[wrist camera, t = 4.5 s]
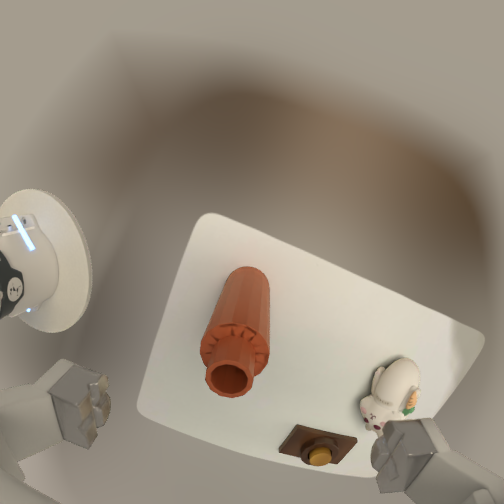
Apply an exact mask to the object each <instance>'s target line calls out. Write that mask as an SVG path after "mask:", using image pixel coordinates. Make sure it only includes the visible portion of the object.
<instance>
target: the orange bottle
mask: <svg viewBox="0 0 504 504" xmlns="http://www.w3.org/2000/svg"><path fill="white" fill-rule="evenodd" d="M269 354H270V296H269V283H268V280H267V278H266V276H265V275H264V274H263V273H262V272H261V271H260V270H258V269H256V268H253V267H241V268H238V269H236V270H235V271H233V272H232V273H231V274H230V276H229V277H228V279H227V281H226V283H225V285H224V288H223V290H222V293H221V295H220V297H219V300H218V302H217V305H216V307H215V309H214V312H213V314H212V316H211V319H210V321H209V324H208V326H207V328H206V331H205V333H204V336H203V338H202V340H201V347H200V355H201V357H202V360H203V363H204V365H205V366H206V367H207V370H206V377H205V381H206V382H207V384H208V386H209V388H210V389H211V390H212V391H213V392H215V393H217V394H218V395H220V396H224V397H229V398H234V397H239V396H243V395H244V394H246V393H247V392H248V391H249V390H250V389H251V388H252V383H253V378H254V376H256V375H258V374H260V373H261V371H262V370H263V369H264V368H265V366H266V365H267V363H268V358H269Z"/></svg>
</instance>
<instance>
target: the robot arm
mask: <svg viewBox="0 0 504 504" xmlns="http://www.w3.org/2000/svg"><path fill="white" fill-rule="evenodd" d="M58 278H59V269H58V262H57V257H56V254H55V251H54V249H53V247H52V245H51V243H50V241H49V240H48V238H47V237H46V236H45V234H44V233H43V232H42V231H41V229H40V228H39V225H38V222H37V220H36V218H35V216H34V215H33V214H24V215H17V216H16V215H13V216H10V217H4V218H0V320H1V319H3V318H5V317H6V316H7V315H8V316H10V317H14V316H16V315H18V314H21V313H23V312H25V311H28V312H29V311H30V310H31V311H32V312H35V311H38V310H39V308H40V307H41V305H42V303H43V302H44V301H45V300H47V299H49V298H50V297H51V296H52V295H53V294H54V292H55V290H56V288H57V284H58ZM108 387H109V383H108V377H107V376H106V375H104V374H101V373H98V372H96V371H93V370H91V369H88V368H85V367H83V366H80V365H78V364H75V363H72V362H70V361H67V360H65V359H61V360H59V361H58V362H57V363H56V364H55V365H54V366H52V367H51V368H50V369H49V370H48V371H47V372H46V373H45V374H44V375H43V376H42V377H41V378H40V379H39V380H38V381H37V382H36V383H34V385H30V384H24V385H20V386H16V387H11V388H7V389H2V390H0V504H62V503H60V502H57V501H56V500H54V499H52V498H50V497H48V496H46V495H45V494H43V493H41V492H39V491H38V490H36V489H34V488H32V487H31V486H29V485H27V484H26V483H24V482H23V481H24V479H25V476H24V473H23V471H22V470H21V468H20V466H19V464H18V461H20V460H23V459H25V458H27V457H29V456H32V455H34V454H36V453H38V452H41V451H43V450H45V449H47V448H49V447H51V446H54V445H56V444H58V443H60V442H62V441H63V439H64V440H66V441H69V442H71V443H74V444H76V445H78V446H81V447H83V448H86V449H89V448H90V446H91V445H92V443H93V442H94V440H95V438H96V437H97V429H96V428H99V427H101V426H104V424H105V423H106V421H107V419H108V416H109V413H110V408H111V401H110V397H109V396H108V394H107V393H106V390H107V388H108ZM382 432H383V435H382V436H381V437H379V438H378V439H376V441H375V443H374V444H373V446H372V450H371V463H372V467H373V468H374V469H375V470H377V471H378V472H379V473H378V474H377V476H376V480H377V483H378V487H379V490H380V493H392V492H402V491H405V492H404V493H405V494H406V495H407V496H408V497H409V498H411V500H413V501H414V502H415V503H416V504H504V479H503V478H501V477H500V476H498V475H496V474H494V473H493V472H491V471H489V470H488V469H486V468H484V467H482V466H481V465H479V464H477V463H476V462H474V461H472V460H471V459H469V458H467V457H466V456H464V455H462V454H461V453H459V452H458V451H456V450H452V451H451V449H450V447H449V445H448V444H447V442H446V440H445V438H444V437H443V435H442V433H441V432H440V430H439V428H438V427H437V425H436V423H435V422H434V420H433V419H431V418H422V419H409V420H389V421H387V422H386V423H385V425H384V426H383V428H382Z"/></svg>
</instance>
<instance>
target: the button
mask: <svg viewBox="0 0 504 504" xmlns="http://www.w3.org/2000/svg"><path fill="white" fill-rule="evenodd" d="M331 459H332V457H331V452H330V450H329V449H328V448H325V447H321V448H316V449H314V450H311V451H310V453H309V460H310V463H311V464H312V465H314V466H323V465H326V464H328V463H329V462H330V461H331Z"/></svg>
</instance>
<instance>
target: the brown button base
mask: <svg viewBox="0 0 504 504" xmlns="http://www.w3.org/2000/svg"><path fill="white" fill-rule="evenodd" d="M357 442H358V441H357V438H354V437H349V436H344V435H340V434H335V433H330V432H326V431H321V430H317V429H313V428H309V427H305V426H301V425H296V426H295V428H294V429H293V431H292V432H291V433H290V435H289V436H288V437H287V439H286V440H285V441H284V443H283V444H282V445H281V446H280V448H279V453H283V454H287V455H291V456H296V457H300V458H301V460H302V461H303V462H304V463H306V464H308V465H312V464H311V463H310V460H309V453H310V451H311V450H314V449H316V448H321V447H325V448H328V449H329V450H330V452H331V457H332V459H331V461H330V462H329V463H332V464H338V463H339V462H340V461H341V460H342V459H343V458H344V457H345V455H346V454H347V453H348V452H349V451H350V450H351V449H352V448H353V447H354V445H355V444H356V443H357ZM313 466H314V465H313Z"/></svg>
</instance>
